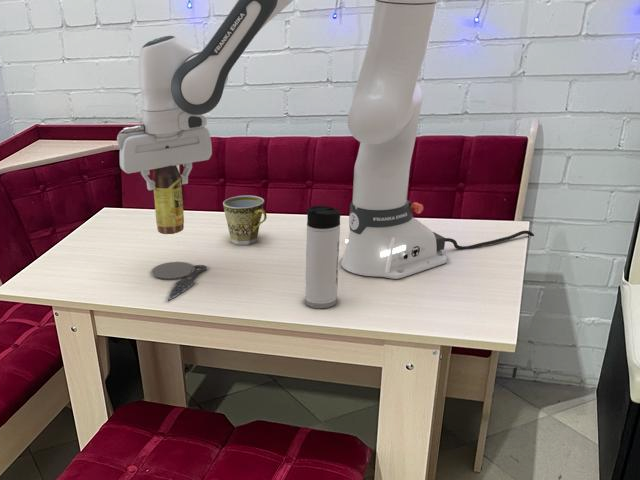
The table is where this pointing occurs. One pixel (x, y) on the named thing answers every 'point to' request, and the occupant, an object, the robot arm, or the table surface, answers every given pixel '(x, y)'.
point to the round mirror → (172, 270)
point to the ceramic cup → (244, 218)
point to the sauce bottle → (168, 200)
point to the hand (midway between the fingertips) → (167, 186)
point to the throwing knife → (186, 281)
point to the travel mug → (322, 256)
